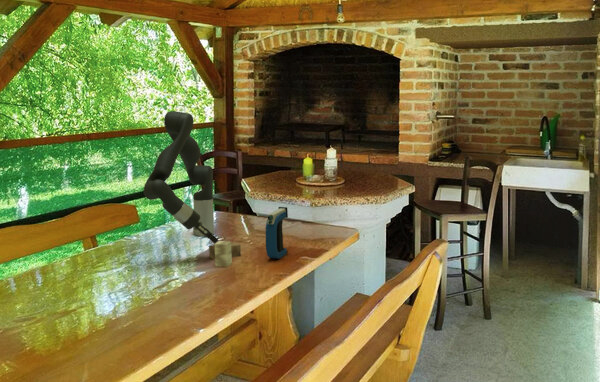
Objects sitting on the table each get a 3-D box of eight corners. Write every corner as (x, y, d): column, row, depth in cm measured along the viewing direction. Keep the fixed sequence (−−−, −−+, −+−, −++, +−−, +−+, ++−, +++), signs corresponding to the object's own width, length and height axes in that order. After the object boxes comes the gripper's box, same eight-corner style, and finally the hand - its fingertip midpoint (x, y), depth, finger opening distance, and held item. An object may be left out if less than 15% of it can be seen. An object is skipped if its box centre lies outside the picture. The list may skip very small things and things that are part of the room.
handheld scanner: (289, 251, 267) (288, 206, 264) (276, 262, 252) (274, 214, 249) (279, 251, 269) (278, 206, 265) (265, 261, 254) (263, 214, 250)
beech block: (215, 266, 248) (214, 244, 247) (220, 262, 253) (219, 241, 251) (227, 266, 247) (226, 244, 245) (231, 263, 252) (231, 241, 250)
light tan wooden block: (212, 248, 256) (240, 244, 261) (209, 245, 261) (236, 242, 266) (213, 260, 257) (240, 256, 262) (209, 257, 262) (236, 253, 267)
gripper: (196, 211, 247) (227, 238, 254) (187, 205, 259) (217, 231, 266) (183, 226, 246) (215, 252, 253) (175, 219, 257) (205, 244, 265)
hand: (216, 241), depth 259 cm, fingers closed
